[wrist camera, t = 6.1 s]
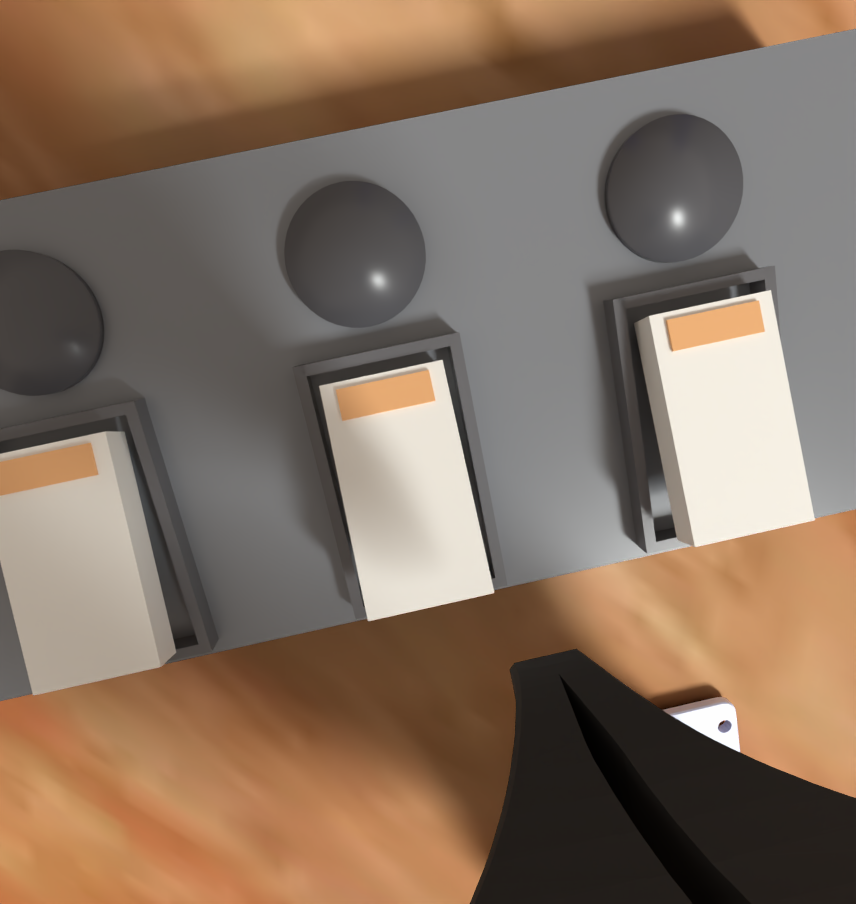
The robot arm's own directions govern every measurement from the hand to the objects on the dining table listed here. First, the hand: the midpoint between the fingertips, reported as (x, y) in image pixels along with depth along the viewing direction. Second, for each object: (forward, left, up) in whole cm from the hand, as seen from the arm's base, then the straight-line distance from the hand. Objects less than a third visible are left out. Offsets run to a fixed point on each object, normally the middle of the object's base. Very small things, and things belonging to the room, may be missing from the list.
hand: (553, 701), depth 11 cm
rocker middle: (+3, +2, -5) cm, 6 cm away
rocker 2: (+3, -7, -5) cm, 9 cm away
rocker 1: (+3, +10, -5) cm, 12 cm away
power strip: (+6, -2, -9) cm, 11 cm away
